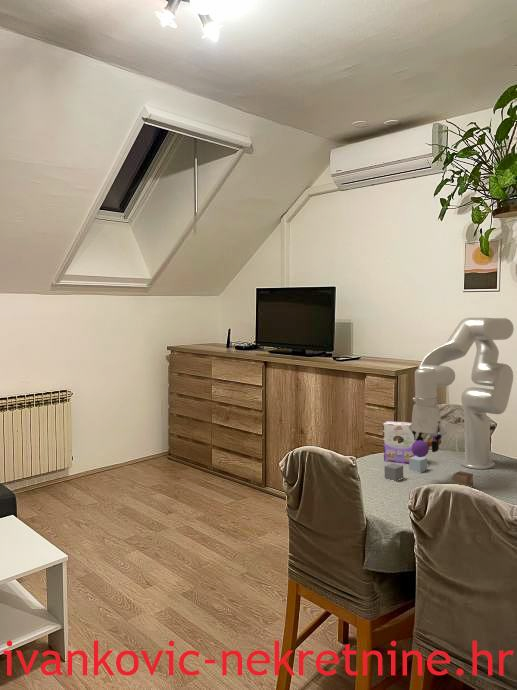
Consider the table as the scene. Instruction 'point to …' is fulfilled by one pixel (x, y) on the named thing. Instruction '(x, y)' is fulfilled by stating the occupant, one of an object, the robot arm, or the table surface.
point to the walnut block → (463, 478)
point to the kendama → (421, 447)
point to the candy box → (397, 441)
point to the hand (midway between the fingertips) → (427, 449)
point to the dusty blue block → (418, 464)
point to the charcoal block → (393, 472)
